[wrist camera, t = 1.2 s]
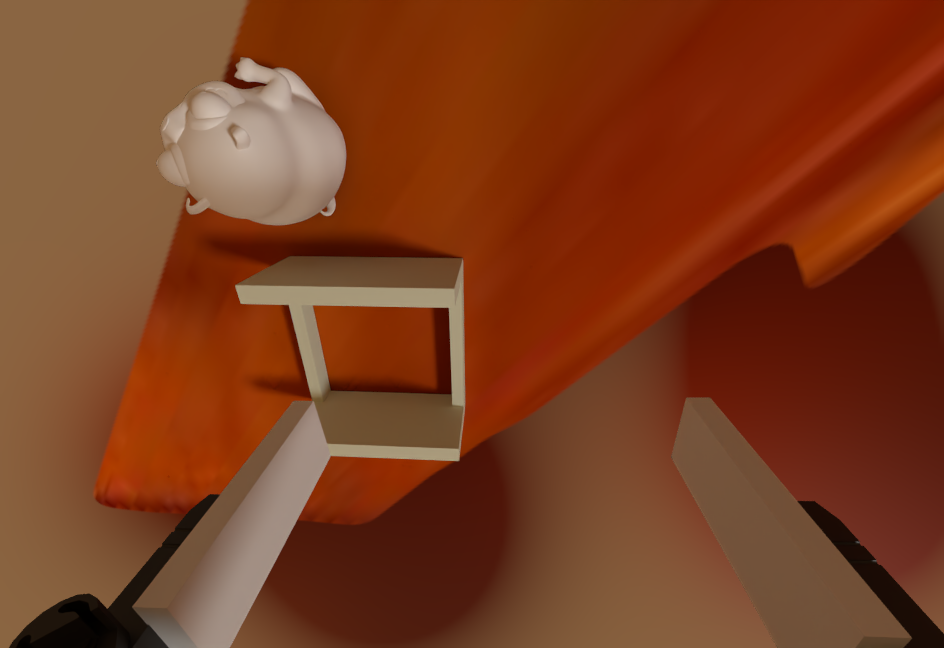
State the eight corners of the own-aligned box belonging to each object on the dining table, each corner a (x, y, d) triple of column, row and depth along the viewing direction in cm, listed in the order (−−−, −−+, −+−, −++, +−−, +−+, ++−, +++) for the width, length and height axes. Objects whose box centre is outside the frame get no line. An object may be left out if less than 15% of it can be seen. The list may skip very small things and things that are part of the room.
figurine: (386, 175, 31) (327, 191, 20) (305, 238, 33) (214, 282, 23) (303, 56, 27) (177, -3, 16) (220, 137, 30) (66, 132, 19)
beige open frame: (289, 256, 34) (235, 285, 27) (462, 258, 33) (454, 288, 26) (322, 400, 42) (287, 454, 34) (465, 405, 41) (458, 460, 34)
